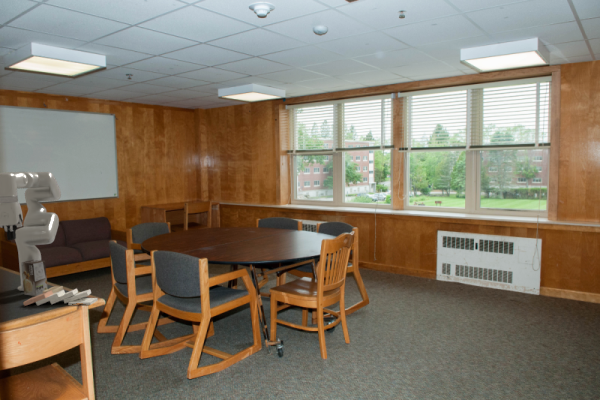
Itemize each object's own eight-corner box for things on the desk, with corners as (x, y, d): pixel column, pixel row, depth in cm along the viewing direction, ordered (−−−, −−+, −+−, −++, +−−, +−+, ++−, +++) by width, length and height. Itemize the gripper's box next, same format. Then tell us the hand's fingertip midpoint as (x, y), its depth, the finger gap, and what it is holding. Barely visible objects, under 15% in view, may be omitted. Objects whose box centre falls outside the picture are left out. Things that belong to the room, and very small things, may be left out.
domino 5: (68, 302, 183) (90, 302, 183) (76, 298, 189) (97, 298, 189) (68, 306, 183) (90, 306, 183) (76, 302, 189) (97, 301, 189)
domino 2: (35, 301, 183) (56, 293, 184) (43, 297, 189) (63, 289, 190) (37, 305, 184) (58, 297, 184) (44, 301, 190) (65, 293, 190)
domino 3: (49, 300, 184) (72, 291, 185) (55, 297, 189) (76, 288, 191) (51, 304, 184) (73, 295, 185) (56, 300, 190) (78, 291, 191)
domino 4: (63, 299, 184) (86, 291, 187) (67, 296, 190) (90, 289, 192) (64, 303, 184) (88, 295, 187) (68, 300, 190) (91, 292, 192)
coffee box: (48, 292, 203) (46, 260, 202) (36, 296, 197) (33, 263, 196) (35, 290, 206) (33, 259, 205) (23, 294, 201) (20, 262, 199)
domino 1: (23, 302, 183) (43, 294, 183) (31, 297, 189) (51, 290, 189) (24, 306, 184) (45, 298, 184) (32, 301, 190) (53, 293, 190)
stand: (43, 299, 192) (42, 291, 191) (54, 294, 200) (54, 286, 199) (52, 299, 191) (51, 291, 191) (63, 294, 199) (62, 286, 199)
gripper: (-15, 201, 185) (-11, 241, 187) (17, 200, 184) (21, 241, 186) (-2, 199, 192) (2, 238, 194) (29, 199, 191) (33, 237, 193)
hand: (11, 239), depth 190 cm, fingers closed
